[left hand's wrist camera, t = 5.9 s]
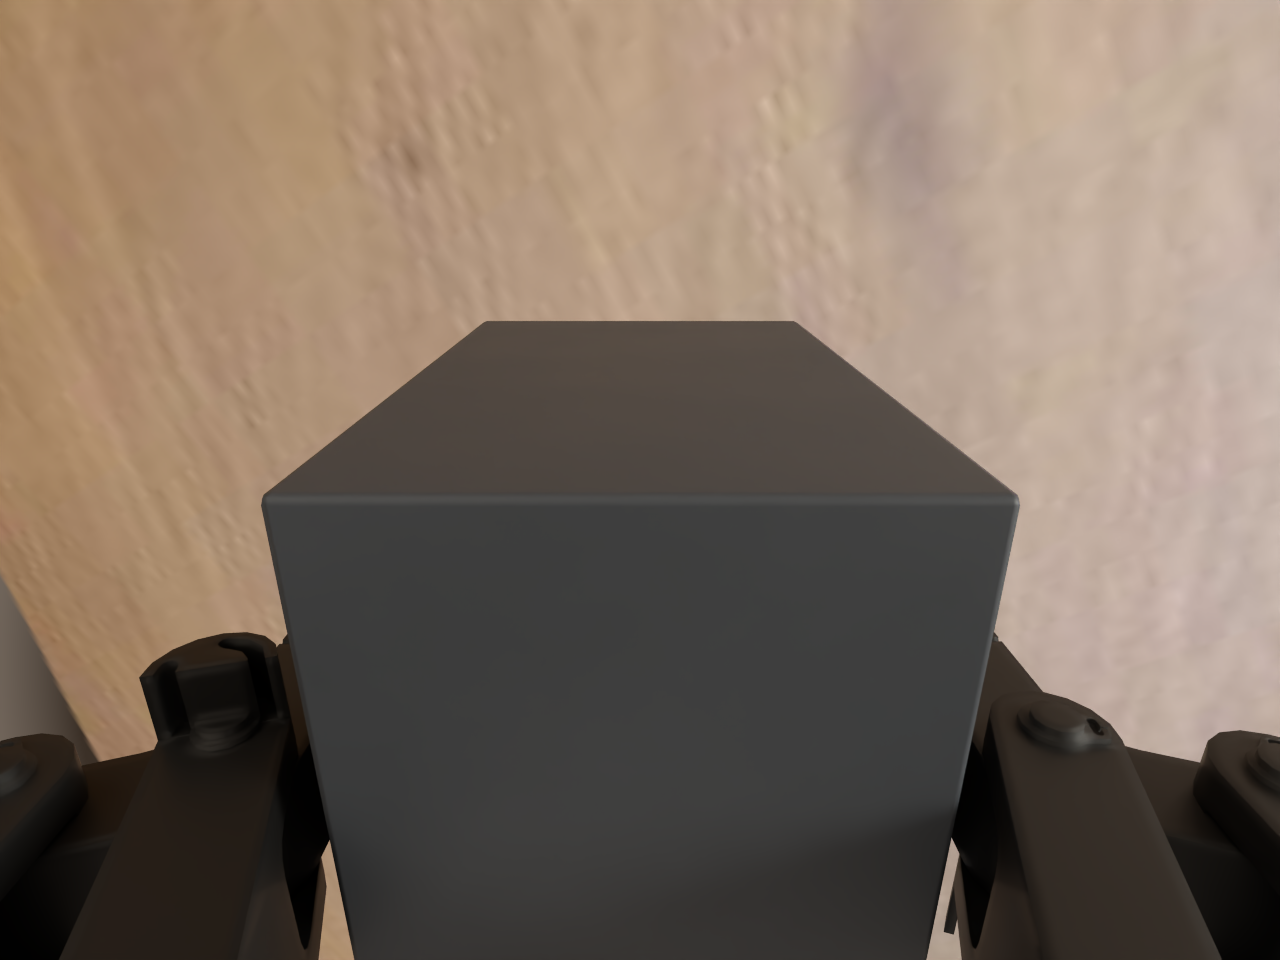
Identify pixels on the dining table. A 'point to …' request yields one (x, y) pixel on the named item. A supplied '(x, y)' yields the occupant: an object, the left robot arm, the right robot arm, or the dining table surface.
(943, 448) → the bar
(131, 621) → the dining table surface
